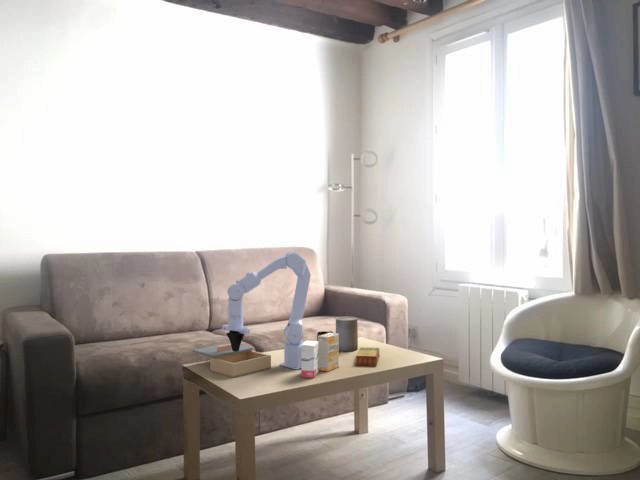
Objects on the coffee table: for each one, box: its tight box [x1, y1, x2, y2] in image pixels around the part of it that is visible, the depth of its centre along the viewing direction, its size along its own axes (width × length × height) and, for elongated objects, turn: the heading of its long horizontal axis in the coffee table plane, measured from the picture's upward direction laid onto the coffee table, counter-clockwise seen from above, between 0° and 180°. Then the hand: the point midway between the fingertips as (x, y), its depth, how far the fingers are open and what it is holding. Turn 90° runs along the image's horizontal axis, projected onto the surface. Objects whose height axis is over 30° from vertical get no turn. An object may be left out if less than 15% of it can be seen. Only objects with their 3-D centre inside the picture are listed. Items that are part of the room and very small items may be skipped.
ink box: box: [300, 339, 319, 379], centre depth 204 cm, size 9×5×12 cm, turn 168°
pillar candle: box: [335, 315, 359, 352], centre depth 246 cm, size 10×10×15 cm
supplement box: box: [318, 332, 340, 372], centre depth 212 cm, size 8×5×13 cm, turn 148°
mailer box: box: [209, 350, 272, 379], centre depth 211 cm, size 14×18×5 cm
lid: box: [192, 342, 254, 358], centre depth 219 cm, size 14×18×3 cm
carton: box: [355, 346, 381, 367], centre depth 225 cm, size 8×16×4 cm, turn 170°
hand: (235, 350), depth 213 cm, fingers closed
